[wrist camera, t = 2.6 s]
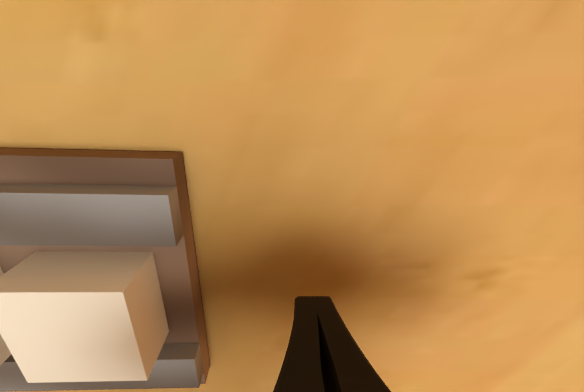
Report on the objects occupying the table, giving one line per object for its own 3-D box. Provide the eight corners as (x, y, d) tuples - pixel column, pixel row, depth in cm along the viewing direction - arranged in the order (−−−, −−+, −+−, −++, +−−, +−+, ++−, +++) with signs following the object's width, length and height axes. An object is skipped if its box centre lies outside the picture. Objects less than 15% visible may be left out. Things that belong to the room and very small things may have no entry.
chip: (168, 331, 12) (147, 380, 10) (69, 332, 12) (27, 382, 10) (152, 251, 11) (122, 292, 9) (36, 251, 10) (-23, 292, 8)
